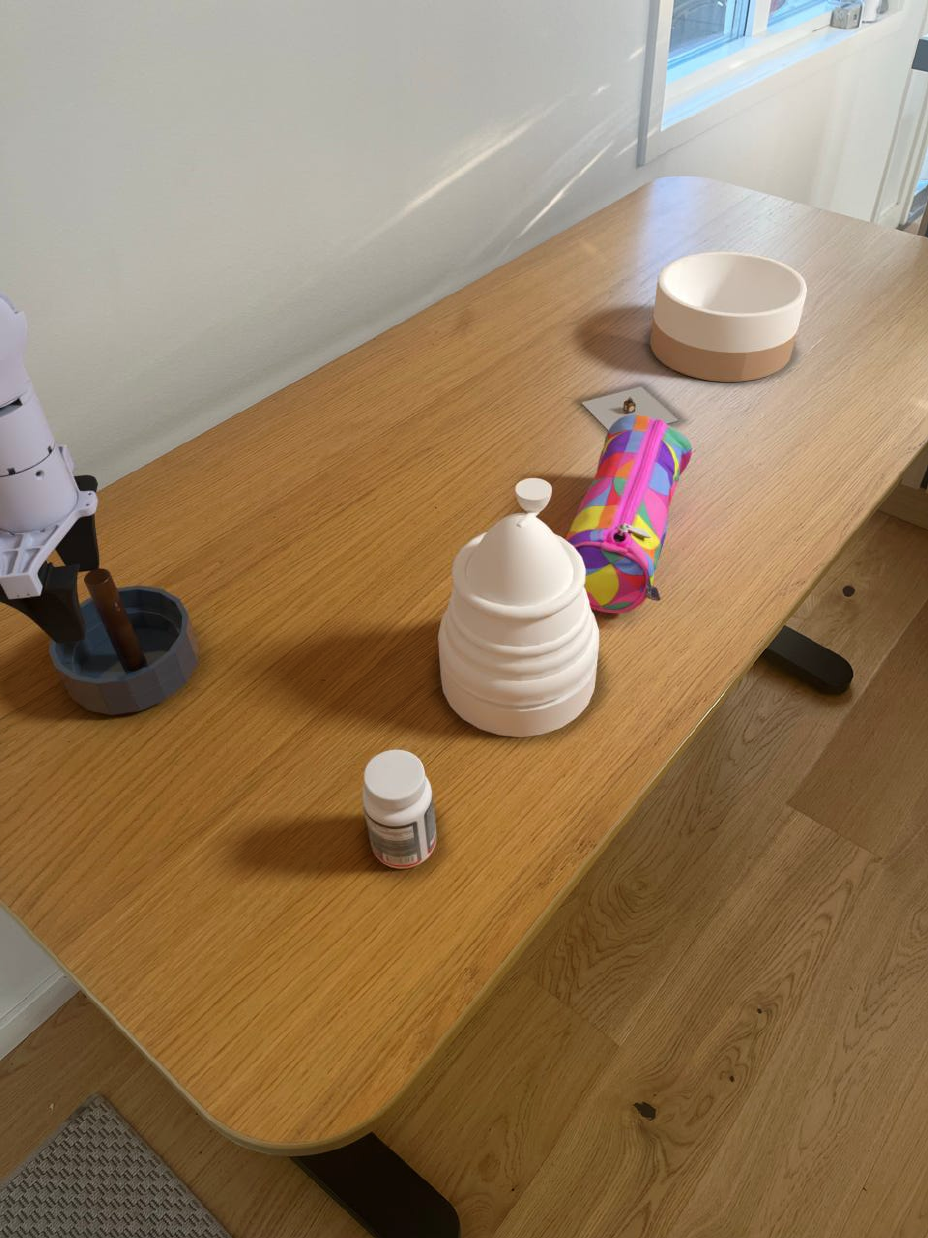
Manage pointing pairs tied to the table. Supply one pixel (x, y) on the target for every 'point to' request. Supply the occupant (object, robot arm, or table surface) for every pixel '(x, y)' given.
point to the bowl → (726, 315)
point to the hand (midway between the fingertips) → (78, 602)
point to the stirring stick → (115, 618)
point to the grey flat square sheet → (627, 407)
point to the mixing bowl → (98, 669)
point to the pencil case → (628, 512)
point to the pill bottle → (399, 809)
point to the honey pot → (519, 626)
